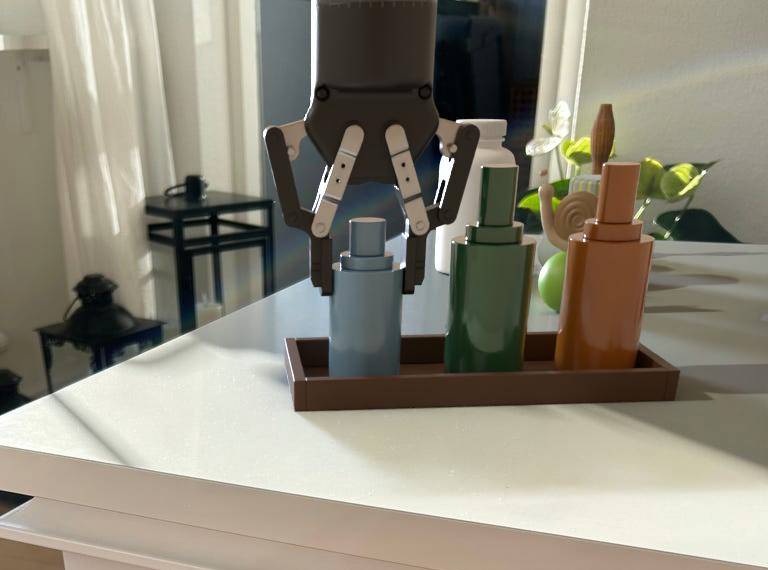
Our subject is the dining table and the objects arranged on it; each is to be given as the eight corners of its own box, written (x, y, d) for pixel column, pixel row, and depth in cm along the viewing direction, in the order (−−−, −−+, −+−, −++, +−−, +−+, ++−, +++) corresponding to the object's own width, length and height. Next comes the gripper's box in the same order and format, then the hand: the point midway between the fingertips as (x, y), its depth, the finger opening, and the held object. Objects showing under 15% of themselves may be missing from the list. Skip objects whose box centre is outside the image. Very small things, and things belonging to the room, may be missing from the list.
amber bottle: (617, 366, 76) (648, 158, 69) (644, 387, 71) (681, 166, 64) (543, 368, 76) (566, 160, 69) (565, 390, 71) (593, 168, 64)
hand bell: (583, 264, 116) (602, 106, 108) (539, 253, 123) (554, 103, 115) (640, 258, 119) (664, 103, 111) (594, 247, 126) (613, 101, 118)
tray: (615, 366, 79) (621, 329, 77) (673, 411, 69) (680, 370, 67) (284, 375, 78) (284, 337, 76) (294, 422, 68) (294, 380, 66)
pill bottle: (491, 263, 117) (503, 116, 110) (517, 275, 111) (531, 120, 103) (425, 266, 116) (432, 118, 109) (446, 279, 109) (456, 122, 102)
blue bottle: (393, 373, 75) (399, 213, 69) (404, 393, 70) (411, 224, 65) (325, 375, 75) (326, 215, 69) (332, 395, 70) (333, 226, 65)
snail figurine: (535, 302, 99) (549, 166, 93) (601, 309, 96) (621, 169, 90) (516, 313, 95) (530, 172, 89) (585, 320, 92) (604, 175, 86)
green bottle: (510, 369, 75) (531, 161, 68) (530, 390, 71) (555, 169, 64) (435, 371, 75) (448, 162, 68) (450, 393, 70) (466, 170, 63)
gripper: (256, -4, 57) (263, 308, 66) (508, -7, 58) (483, 302, 66) (252, 2, 64) (259, 285, 72) (479, 0, 64) (459, 280, 73)
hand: (366, 292), depth 69 cm, fingers closed on blue bottle, 5 cm apart
